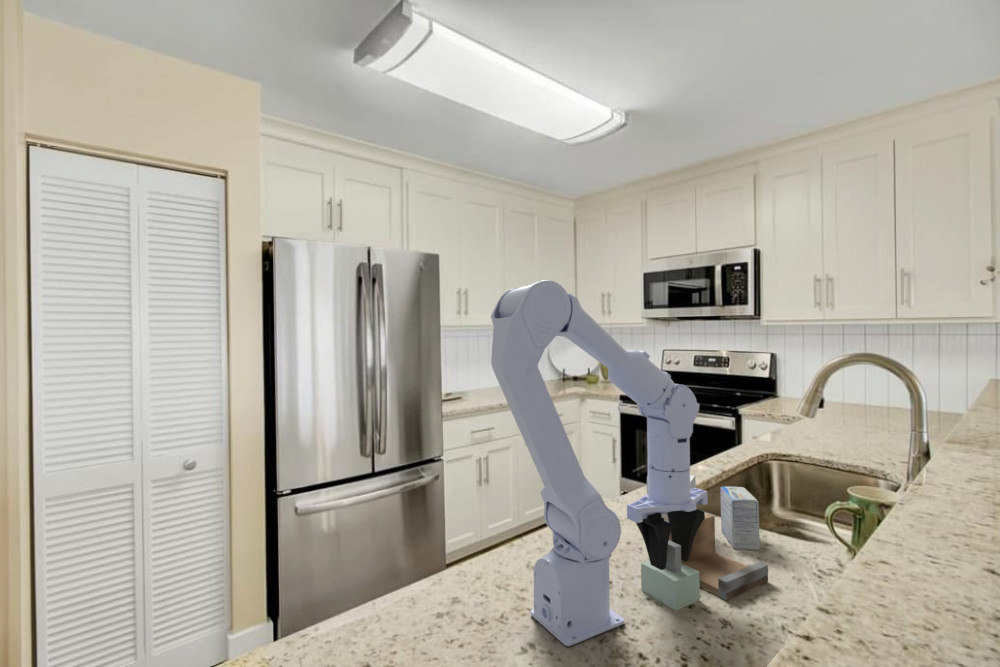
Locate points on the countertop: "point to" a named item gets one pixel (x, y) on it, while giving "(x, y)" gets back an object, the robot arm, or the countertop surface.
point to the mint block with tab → (671, 580)
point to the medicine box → (740, 518)
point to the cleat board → (721, 566)
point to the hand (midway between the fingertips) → (669, 562)
